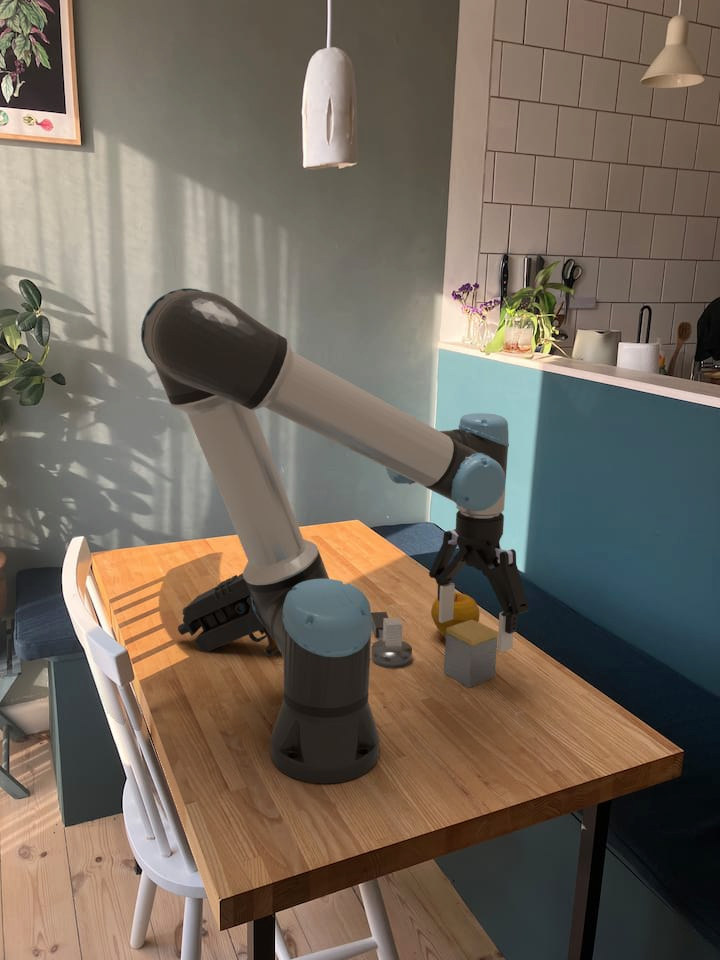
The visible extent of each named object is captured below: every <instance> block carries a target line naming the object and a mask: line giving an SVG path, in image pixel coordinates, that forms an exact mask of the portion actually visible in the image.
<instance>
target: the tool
mask: <svg viewBox="0 0 720 960" xmlns="http://www.w3.org/2000/svg"><path fill="white" fill-rule="evenodd" d="M182 615H183V618H182V622H183V623H181V624H179V625H178V627H177V631H178V632H179V634H180V635H185V634H188V633H189V634H190V636H191V637H192V636H194V635H195V634H196V633H197V632H198V631H199V630H200V629H202V631H201V632H200V633H199V634H198V635H197V637H196V638H195V639H194V643H195V644H196V646H197V648H198V649H199V650H200V651H201V652H204V653H207V652H210V651H211V650H214V649H217V648H219V647H222V646H224V645H226V644H227V645H228V644H229V643H232V642H235V641H236V640H239V639H242V638H243V637H244V638H245V637H247V636H248V637H249V638H250V639H251V641H252V642H254V643H260V642H262V641H263V640H265V639H266V638H267V641H268V645H267V646H266V648H265V649H264V652H265V654H266V656H267V657H271V656H272V655H275V654H276V653H277V652H280V650H279V649H278V647H277V645H276V644H275V642H274V641H273V639H272V638H271V636H270V634H269V633H268V631H267V630H266V628H265V627H264V625H263V624H262V623H261V622H260V621H259V619H258V618H257V616H256V614H255V612H254V610H253V607H252V601H251V594H250V591H249V589H248V587H247V584H246V582H245V580H244V577H243V572H242V573H241V574H239V575H237V574H235V575H232V577H230V578H227V579H225V580H223V581H220V583H219V584H217V585H216V586H215V587H213V588H211V589H208V590H207V591H205V592H203V593H201V594H199V595H197V596H196V597H195V598H194V599H193V600H192V601H191V602H190V603H188V605H186V606H185V607H183V608H182ZM256 632H259V633H260V635H263V636H261V637H259V638H258V637H256V636H255V635H254V633H256Z"/></svg>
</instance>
